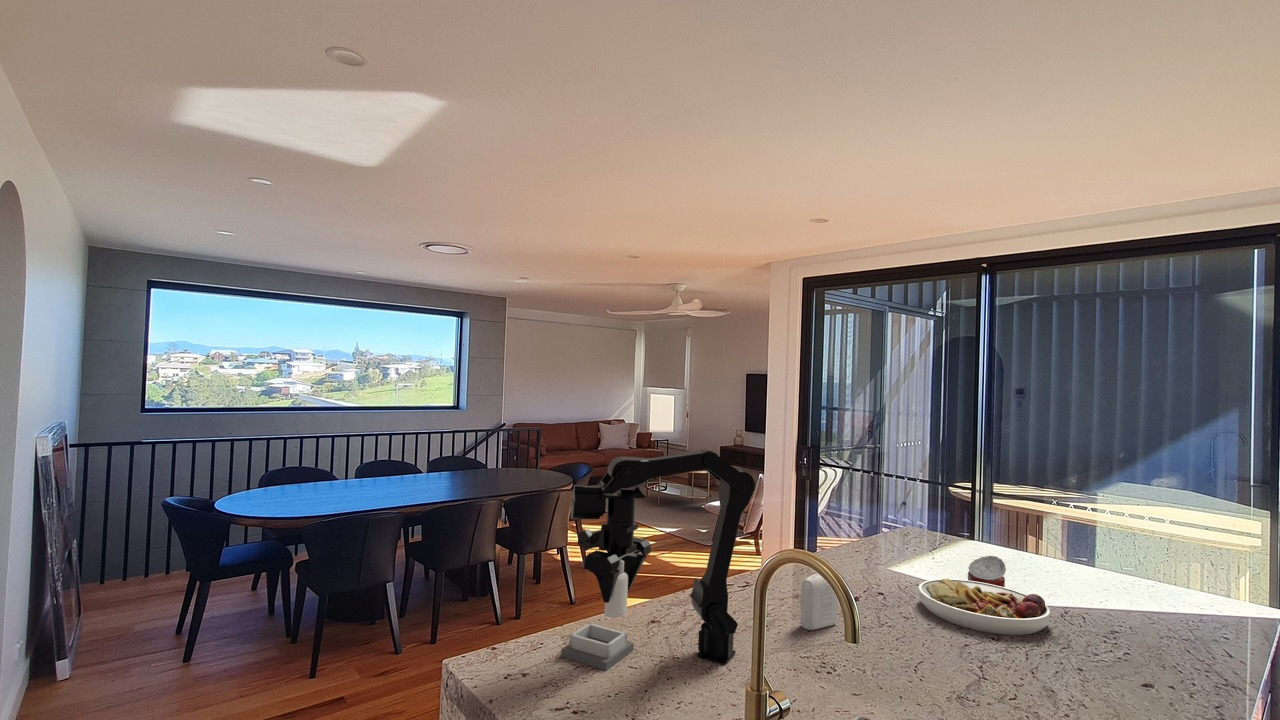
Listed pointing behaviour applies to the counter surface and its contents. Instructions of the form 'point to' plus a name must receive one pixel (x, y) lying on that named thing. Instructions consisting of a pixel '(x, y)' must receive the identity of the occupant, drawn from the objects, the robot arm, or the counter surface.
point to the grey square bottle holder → (597, 646)
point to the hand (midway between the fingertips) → (616, 596)
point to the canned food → (987, 571)
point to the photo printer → (817, 603)
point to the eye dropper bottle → (618, 595)
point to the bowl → (985, 606)
